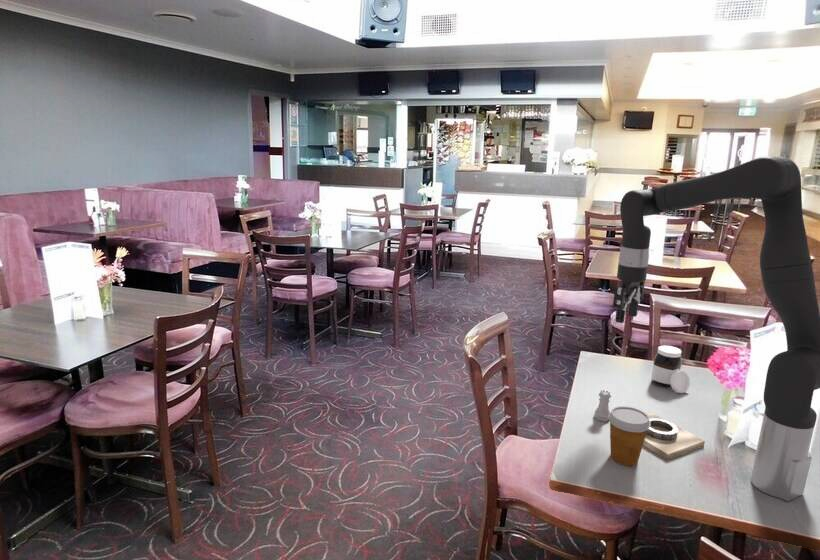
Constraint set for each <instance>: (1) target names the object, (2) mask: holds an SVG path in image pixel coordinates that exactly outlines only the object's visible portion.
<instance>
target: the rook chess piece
mask: <svg viewBox="0 0 820 560" xmlns="http://www.w3.org/2000/svg"><path fill="white" fill-rule="evenodd" d="M598 396H599V398H598V400H599V401H598V406H597V408H596V409H595V411H594V414H593V417H594V418H595V419H596V420H597V421H600V422H608V421H609V422H610V420H609V417H608V416H609V413H610V412H611V411H610V410H609V403H610V402H611V401H610V399H611V397H612V395H611V392H610V391H609V390H605V389H602V390H600V392H599V393H598Z"/></svg>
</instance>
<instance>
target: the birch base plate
mask: <svg viewBox="0 0 820 560" xmlns="http://www.w3.org/2000/svg"><path fill="white" fill-rule="evenodd" d="M647 415H648V416H649V418H659V419H663V420H666V419H664V418H663V417H661V416H659V415H657V414H655V413H653V412H651V413H649V414H647ZM676 427H677V428H678V434H677V438H676V439H674V440H671V441H664V440H659V439H655V438H652V437H650V436H649V435H647V434H646V437H645V440H644V443H643V446H644V447H646V448H648V449H649V450H651V451H652V452H654V453H655V454H658V455H659V456H661V458H663V459H666V460H667V461H668V460H670V459H672V458H675V457H678V456H681V455H683V454H686V453H689V452H691V451H694V450H697V449H699V448H703V447H705V444H706V443H705V440H704V439H702V438H700V437H698V436H696V435H695V434H693V433H691V432H689V431H687V430H685V429H683V428H681V427H680V426H678V425H676ZM651 428H653V429H655V430H658V431H661V432H670V431H669V430H667V429H665V428H662V427H656V426H652V427H651Z"/></svg>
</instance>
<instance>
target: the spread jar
mask: <svg viewBox="0 0 820 560" xmlns="http://www.w3.org/2000/svg"><path fill="white" fill-rule="evenodd" d="M682 365H683V358H682V350H681V349H680V348H678V347H677V346H672V345H660V346H658V347H657V353H656V355H655V356H654V360H653V364H652V371H651V381H652V382H653V383H654V384H655V385H657V386H659V387H663V388H668V389H669V388H671V389H672V390H673V391H674V392H675V393H677V394H678V393H680V394H684V393H686V392H687V391H688V390H689V387H690V384H691V383H690V382H691V381H690V376H689V375H688V373H687V372H686V371H684V370H682V367H683V366H682Z"/></svg>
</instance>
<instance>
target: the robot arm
mask: <svg viewBox="0 0 820 560" xmlns="http://www.w3.org/2000/svg"><path fill="white" fill-rule="evenodd" d="M801 176H802V175H801V172H800V169H799V166H798V165H797V164H796V162H794V161H793V160H792V159H790V158H788V157H786V156H785V157H784V156H773V155H764V156H759V157H757V158H754V159H751V160H749V161H746V162H744V163H741V164H738V165H736V166H733V167H731V168H729V169H725V170H723V171H720V172H716V173H712V174H709V175H704V176H699V177H693V178H688V179H683V180H680V181H679V180H677V181H674V182H670V183H665V184H663V185H661V186H659V187H654V188H649V189H634V190H630V191H628V192H626V193H625V194H624V195H623V197H622V198H621V201H620V207H619V210H620V211H619V212H620V219H621V220H620V221H621V227H622V237H621V247H620V251H619V254H618V255H619V256H618V265H617V272H616V278H617V279H618V280H619V281H621V284H620V286H616V287H615V289H614V294H613V301H612V308H613V309H615V310H616V311H615V322H616V323H618V324H624V323H625V317H626V309H627V307H628V306H629V307H628V316H631V317H637V316H638V311H639V310H638V309H639V304H640V303H641V301H643V300H644V292H645V282H646V280H647V274H648V267H649V259H650V244H651V243H650V242H651V236H652V235H651V234H652V232H651V228H650V227H649V226H647V225H645V223H644V217H647V216H648V217H649V216H653V215H654V216H655V215H657V214H661V213H665V212H673V211H679V210H685V209H690V208H695V207H699V206H702V205H706V204H708V203H712V202H716V201H721V200H728V199H730V200H731V199H756V200H761V204H762V208H763V210H762V211H763V214H764V221H765V222H764V226H765V227H764V235H763V239H762V243H761V248H760V253H759V254H760V255H759V266H760V267H759V268H760V275H761V281H762V285H763V286H762V287H763V290H764V293H765V295H766V297H767V299H768V300H769V303H770V304H771V306H772V307H773V309H774V310H775V312H776V314H778V316H779V319H780V320H781V322H782V324H783V327H784V331H785V337H786V346H787V348H786V350H784V351H782V352H779V353H777V354H776V355H774V356H773V357H772V358H771V360H770V362H769V365H768V367H767V371H766V377H765V384H764V390H763V403H764V412H763V417H762V421H761V426H760V431H759V436H758V442H757V445H756V446H757V447H756V451H755V456H754V462H753V465H752V466H753V467H752V469H751V475H750V481H751V484H752V485H753V486H754V487H755V488H756V489H758V490H759V491H761V492H763V493H765V494H766V495H770V496H771V497H774V498H775V497H776V498H778V499H782V500H784V501H786V502H790V501H792V500H794V499H795V498H798V497H800V496H802V495H804V492H805V488H806V487H805V486H806V483H807V478H808V475H809V470H810V466H811V462H812V456H811V455H809V452H810V448H811V442H812V438H813V434H814V431H815V426H816V422H817V417H818V415H817V412H816V411H815V409H814V408H812V403H813V395H814V392H815V391H816V390H819V389H820V307H819V301H818V296H817V290H816V283H815V274H814V270H813V264H812V262H813V261H812V259H811V254H810V249H809V243H808V237H807V231H806V227H805V223H804V214H803V201H802V200H803V199H802V198H803V197H802V177H801Z"/></svg>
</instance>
